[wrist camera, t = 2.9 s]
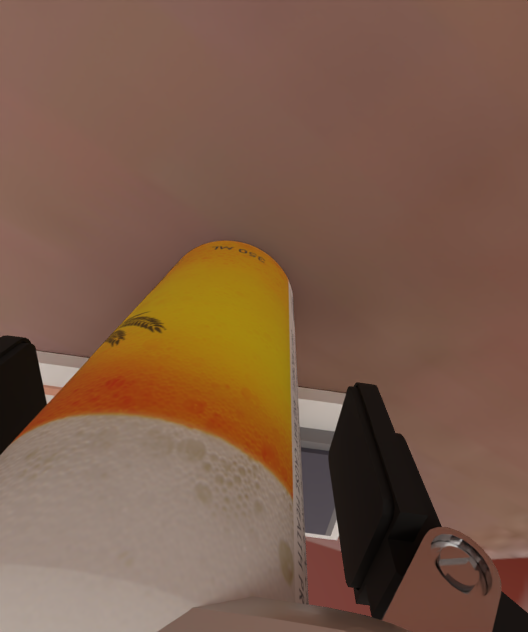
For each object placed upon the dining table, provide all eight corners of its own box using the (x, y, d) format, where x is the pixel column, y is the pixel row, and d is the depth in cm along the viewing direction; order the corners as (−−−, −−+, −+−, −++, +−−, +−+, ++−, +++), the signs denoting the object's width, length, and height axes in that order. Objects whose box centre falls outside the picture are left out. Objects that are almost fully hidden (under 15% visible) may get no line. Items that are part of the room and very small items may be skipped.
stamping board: (381, 398, 19) (392, 428, 17) (335, 526, 25) (339, 560, 23) (32, 350, 19) (1, 374, 17) (61, 489, 25) (41, 520, 23)
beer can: (160, 240, 16) (-477, 722, 3) (290, 231, 16) (322, 779, 2) (184, 350, 19) (-72, 865, 5) (295, 345, 18) (321, 905, 5)
